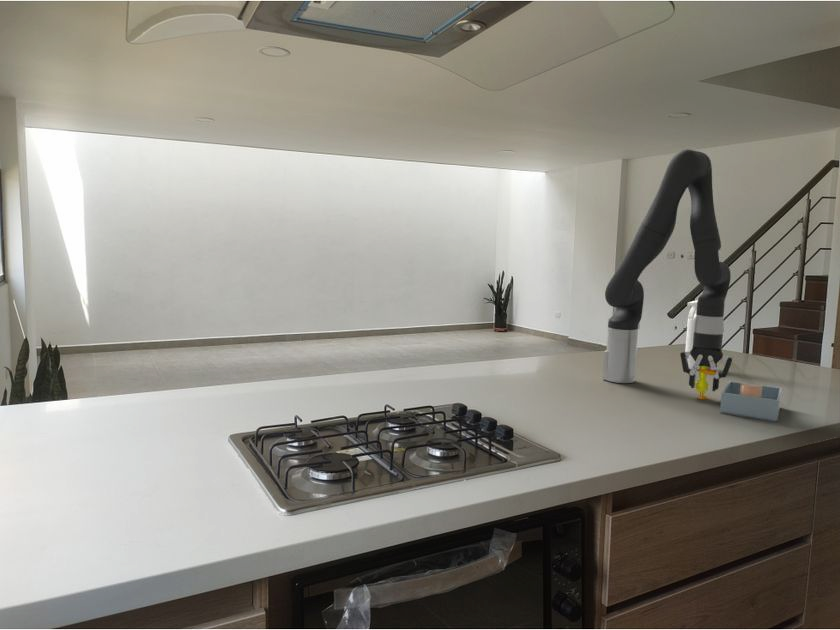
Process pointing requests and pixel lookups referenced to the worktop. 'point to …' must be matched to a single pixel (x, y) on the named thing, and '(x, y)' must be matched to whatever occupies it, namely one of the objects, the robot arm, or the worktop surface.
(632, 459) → the worktop surface
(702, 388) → the toy figure
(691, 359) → the white spray bottle
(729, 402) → the tote
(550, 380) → the worktop surface
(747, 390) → the brown egg
